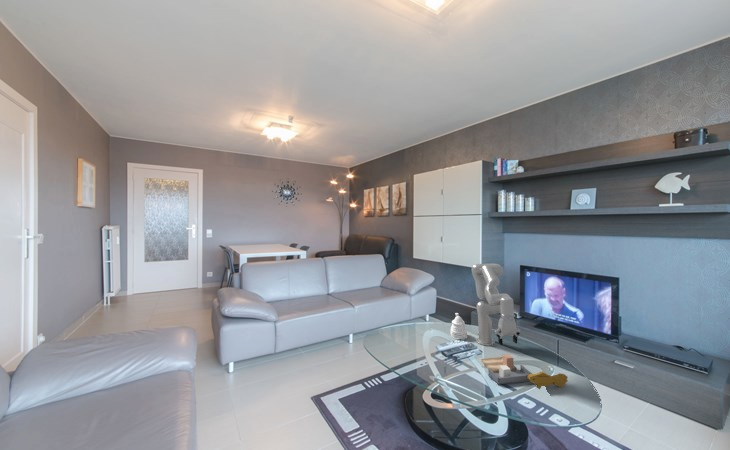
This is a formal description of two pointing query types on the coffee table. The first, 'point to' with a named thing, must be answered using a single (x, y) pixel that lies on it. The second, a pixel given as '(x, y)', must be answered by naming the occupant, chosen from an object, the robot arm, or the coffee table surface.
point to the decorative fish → (547, 379)
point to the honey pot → (458, 328)
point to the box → (515, 377)
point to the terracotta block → (508, 360)
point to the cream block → (504, 371)
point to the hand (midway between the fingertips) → (507, 343)
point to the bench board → (495, 364)
